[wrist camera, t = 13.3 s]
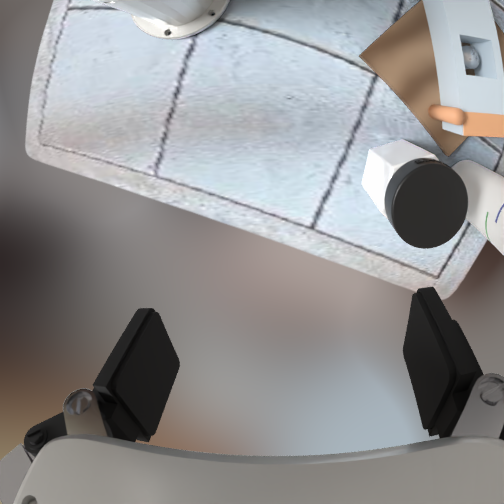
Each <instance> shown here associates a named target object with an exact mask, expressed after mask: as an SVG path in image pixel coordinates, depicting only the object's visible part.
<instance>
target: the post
mask: <svg viewBox="0 0 504 504" xmlns="http://www.w3.org/2000/svg"><path fill="white" fill-rule="evenodd" d="M462 51H463V57H464V64H465V69H475V68H477V67H478V65H479V56H478V53H477V52H476V50H475V49H474V48H472V47H471V46H462Z"/></svg>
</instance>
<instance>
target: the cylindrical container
mask: <svg viewBox="0 0 504 504" xmlns="http://www.w3.org/2000/svg"><path fill="white" fill-rule="evenodd" d="M452 169H453V170H454V171H455V172H456V173H457V174H458V175H459V176H460V177H461V179H462V180H463V182H464V184H465V186H466V189H467V193H468V210H467V215H466V218H465V219H467V220H468V221H469V222H470V223H471V224H472V225H473V226H474V227H475V228H476V229H477V230H478V231H480V232H481V233H482V234H483V235H484V236H485V237H486V238H487V239H488V240H489V241H490V242H491V243H492V244H493V245H494V246H495V247H496V248H497V249H498V250H499V251H500V252H501V253H502V254H503V255H504V177H503V176H501V175H499V174H497V173H495V172H493V171H492V170H490V169H488V168H486V167H484V166H482V165H480V164H478V163H476V162H474V161H471V160H462V161H460V162H458V163H456V164H455V165H454V166H453V167H452Z"/></svg>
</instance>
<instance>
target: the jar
mask: <svg viewBox="0 0 504 504" xmlns="http://www.w3.org/2000/svg"><path fill="white" fill-rule="evenodd" d="M361 184H362V186H363V188H364V189H365V190H366V192H367V193H368V195H369V196H370V197H371V199H372V200H373V202H374V203H375V205H376V206H377V208H378V209H379V210H380V212H381V213H382V214H383V215H384V216H385V217H386V218H387V219H388V220H389V221H390V223H391V225H392V226H393V227H394V229H395V231H396V232H397V233H398V235H399V236H400V237H401V238H402V239H403V240H404V241H405V242H406V243H408V244H410V245H412V246H414V247H417V248H434V247H437V246H440V245H442V244H444V243H446V242H447V241H449V240H450V239H451V238H452V237H453V236H455V234H456V233H457V232H458V231H459V230H460V228H461V226H462V225H463V223H464V220H465V218H466V215H467V210H468V193H467V189H466V186H465V184H464V182H463V180H462V179H461V177H460V176H459V175H458V174H457V173H456V172H455V171H454V170H453V169H452V168H451V167H449V166H448V165H446V164H444V163H442V162H441V161H439V159H438V158H437V157H436V156H435V155H434V154H433V153H431V152H429V151H427V150H425V149H422V148H420V147H418V146H416V145H414V144H412V143H410V142H408V141H406V140H404V139H401V140H398V141H394V142H391V143H387V144H384V145H381V146H377V147H374V148H371V149H369V152H368V157H367V162H366V166H365V170H364V175H363V179H362V183H361Z"/></svg>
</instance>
